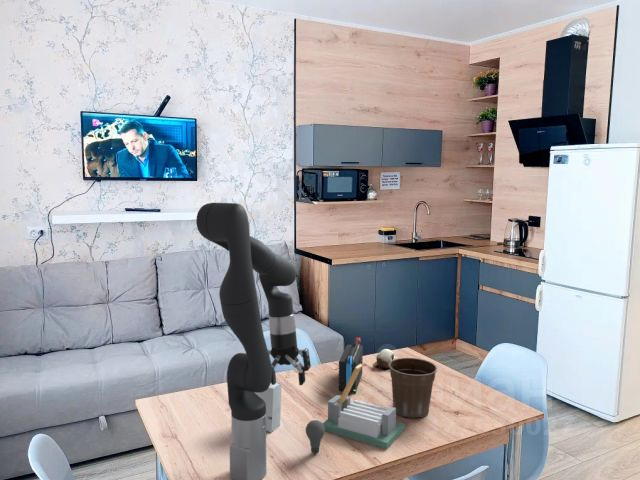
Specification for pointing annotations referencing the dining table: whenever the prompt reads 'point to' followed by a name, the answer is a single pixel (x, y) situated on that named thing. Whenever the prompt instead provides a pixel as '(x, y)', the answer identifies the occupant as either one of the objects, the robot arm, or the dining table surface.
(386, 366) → the skull
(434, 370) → the plant pot
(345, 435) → the base
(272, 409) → the skincare box
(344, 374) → the game console
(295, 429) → the dining table surface
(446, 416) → the dining table surface
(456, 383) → the dining table surface
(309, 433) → the light bulb
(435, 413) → the dining table surface
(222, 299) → the robot arm
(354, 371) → the retention strap
